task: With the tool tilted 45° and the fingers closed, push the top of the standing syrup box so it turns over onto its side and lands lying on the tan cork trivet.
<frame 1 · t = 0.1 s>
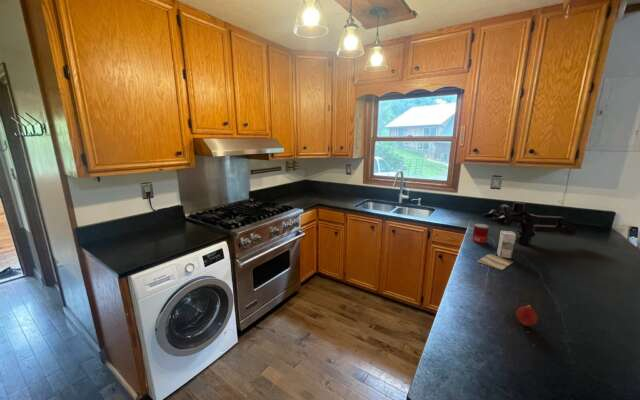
hand: (485, 217, 165), 17 cm above the worktop, tool horizontal, fingers open, 9 cm apart
canned food: (479, 241, 169), on the worktop
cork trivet: (494, 262, 140), on the worktop
syrup box: (503, 256, 148), on the worktop
onion: (524, 325, 92), on the worktop
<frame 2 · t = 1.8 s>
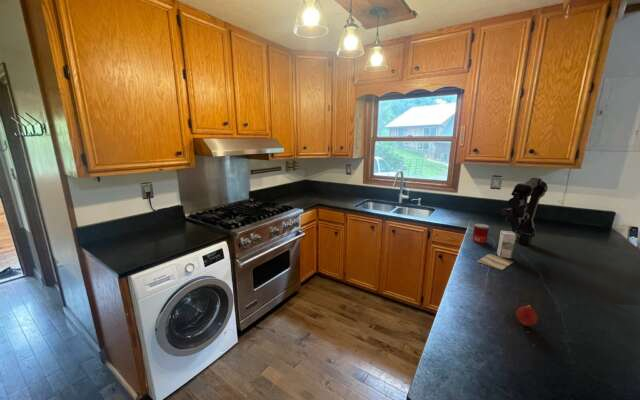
hand: (515, 231, 154), 12 cm above the worktop, tool pointing down, fingers open, 5 cm apart
nothing on the worktop moved.
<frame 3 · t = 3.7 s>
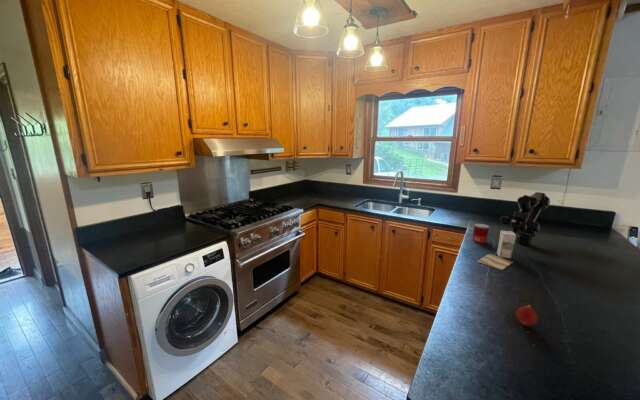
hand: (513, 235, 152), 10 cm above the worktop, tool tilted 45°, fingers closed
nothing on the worktop moved.
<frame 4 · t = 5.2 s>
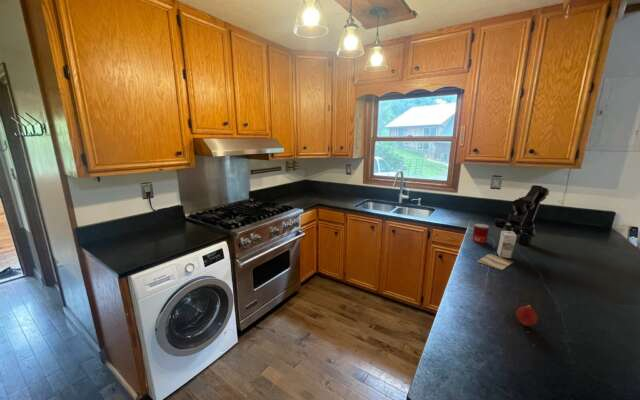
hand: (508, 238, 147), 10 cm above the worktop, tool tilted 45°, fingers closed
syrup box: (503, 255, 148), on the worktop, touching gripper
everything else where it was.
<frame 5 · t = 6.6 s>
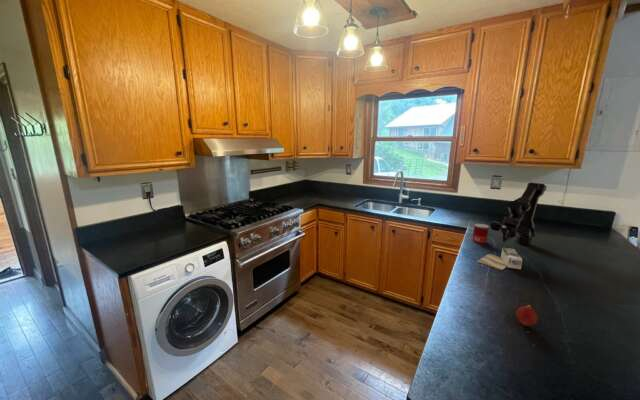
hand: (503, 241, 143), 10 cm above the worktop, tool tilted 45°, fingers closed
syrup box: (507, 252, 145), point 3 cm above the worktop, touching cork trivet
everything else where it was.
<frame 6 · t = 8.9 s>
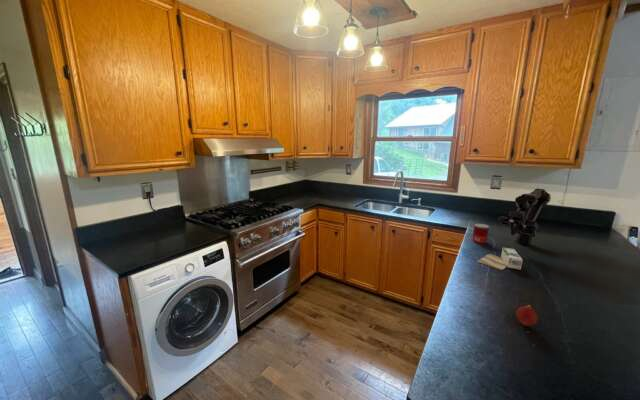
hand: (512, 235, 151), 11 cm above the worktop, tool tilted 40°, fingers closed
nothing on the worktop moved.
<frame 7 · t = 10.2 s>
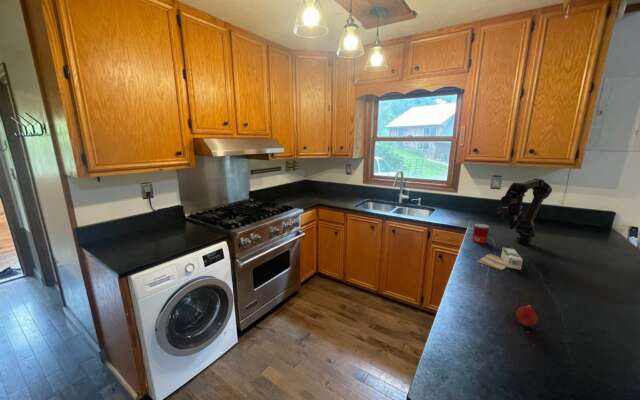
hand: (511, 228, 158), 12 cm above the worktop, tool pointing down, fingers closed
nothing on the worktop moved.
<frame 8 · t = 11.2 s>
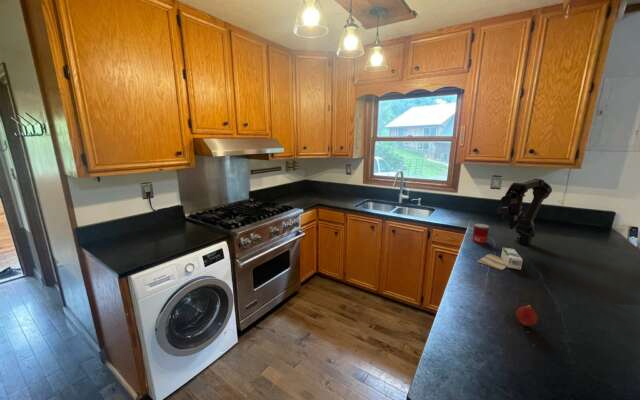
hand: (511, 228, 158), 12 cm above the worktop, tool pointing down, fingers closed
nothing on the worktop moved.
at the end: syrup box tilted 89°; syrup box 11.0 cm from the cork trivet (horizontally); the gripper is holding nothing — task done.
